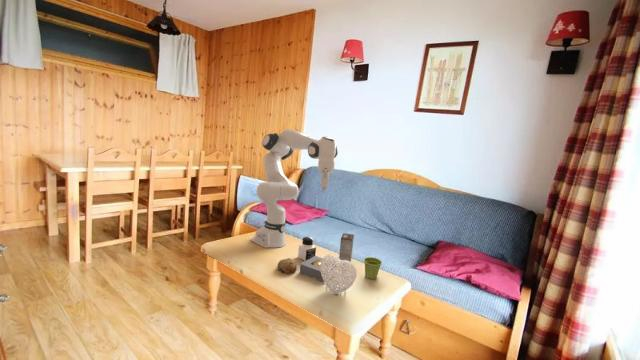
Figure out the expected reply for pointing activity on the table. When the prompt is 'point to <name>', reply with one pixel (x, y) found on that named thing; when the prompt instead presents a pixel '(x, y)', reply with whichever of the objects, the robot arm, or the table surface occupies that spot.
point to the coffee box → (346, 247)
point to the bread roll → (287, 266)
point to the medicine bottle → (306, 249)
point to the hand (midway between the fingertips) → (323, 191)
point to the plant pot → (372, 267)
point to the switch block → (312, 268)
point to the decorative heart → (337, 274)
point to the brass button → (317, 263)
